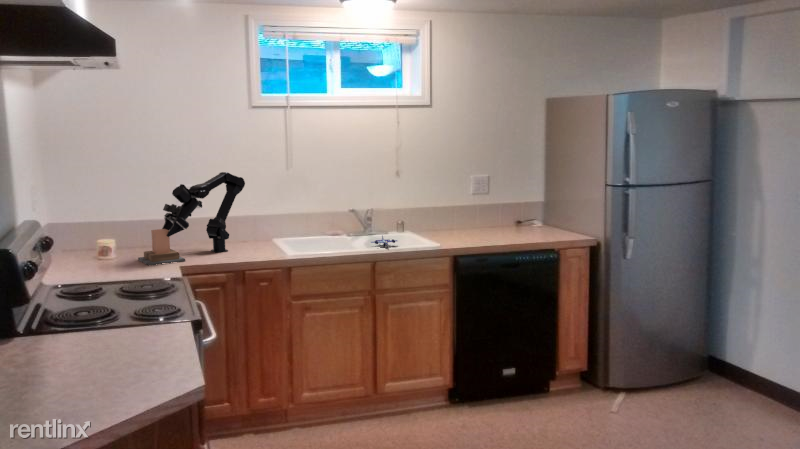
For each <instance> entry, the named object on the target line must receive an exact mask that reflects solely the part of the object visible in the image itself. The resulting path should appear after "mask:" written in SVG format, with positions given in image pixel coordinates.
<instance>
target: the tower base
mask: <svg viewBox="0 0 800 449" xmlns="http://www.w3.org/2000/svg"><path fill="white" fill-rule="evenodd" d="M137 259H138V261H139V262H141V263H144V264H145V265H147V264H148V265H147V266H149V265H153V266H157V265H156V264H161V265H163V264H162V263H169V264H172V263H171V262H177V263H183V262H186V258H184V257H182V256H180V252H179V251H177V250H173V249H171V248H170V252H169V253H160V254H156V253H154V252H153V250H146V251H143V256H140V257H137Z"/></svg>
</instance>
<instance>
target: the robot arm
mask: <svg viewBox="0 0 800 449" xmlns="http://www.w3.org/2000/svg"><path fill="white" fill-rule="evenodd" d="M222 184H225V189H226V192H225V195H224V197H223V199H222V202H221V204H220V206H219V209H218V211H217V214H216V215H215V217H214V218H210V219H209V220H208V223H207V224H206V228H205V229H206V230H205V231H206V234H207V236H208V238H209V239H212V246H213V247H212V249H210V251H211V252H213V253H223V252H229V250H228V249H226V240H229V238H230V233H229V232H228V231H227V230H226V228H227V223H226V220H227V217H228V215H229V213H230V211H231V208H232V207H233V204H234V201H235V199H236V197H237V196H238V195H239V194H240V193H241V192H242V191H243V189H244V188H245V185H246V182H245V179H244V178H243V177H239V176H237V175H235V174H231V173H229V172H227V171H226V172H224V171H222V172H219V173H218V174H216V175H215V176H213V177H211V178H210V179H208V180H206V181H205V182H202V183H199V184H194V185H192V186H190V187H189V189H188V187H186V185H185V184H182V183H181V184H179V185H178V186H176V187H175V188H174V189H173V190H172V192H171V194H172V196H173V197H174V198H175V199H176V200H178V202H180V203H181V205H178V206H177V205H176V204H174V203H171V205H170V204H168V203H165V204H164V207H163V208H162V210H163V211H165V212H166V213H165V215H163V218H164V224H163V226H162V228H161V229H167V230H169V232H168V233H167V235H166V236H167V237H169V238H170V237H171V236H173V235H175V234H177V233H180V232H182V231H184V230H187V229H189V227H190V223H189V222H188V221H187V219H188V218H189V217H190V218H191V217H192V213H194V211H195V210H196V209H197V208H198V207H199V208H200V209H201V208H203V202H202V201H201V200H198V199H202V200H203V199H205V198H207V196H209V195H210V192H211V191H213V190H214V189H215V188H218V187H219V186H221V185H222Z"/></svg>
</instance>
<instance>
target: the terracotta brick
mask: <svg viewBox="0 0 800 449" xmlns="http://www.w3.org/2000/svg"><path fill="white" fill-rule="evenodd" d="M168 232H169V230H167V229H162V228H159V229H151V244H152V245H151V246H152V249H151V251H153V252H154V253H156V254H160V253H169V252H170V249H171V241H170V236H169V237H167V236H166V235H167V233H168Z"/></svg>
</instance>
